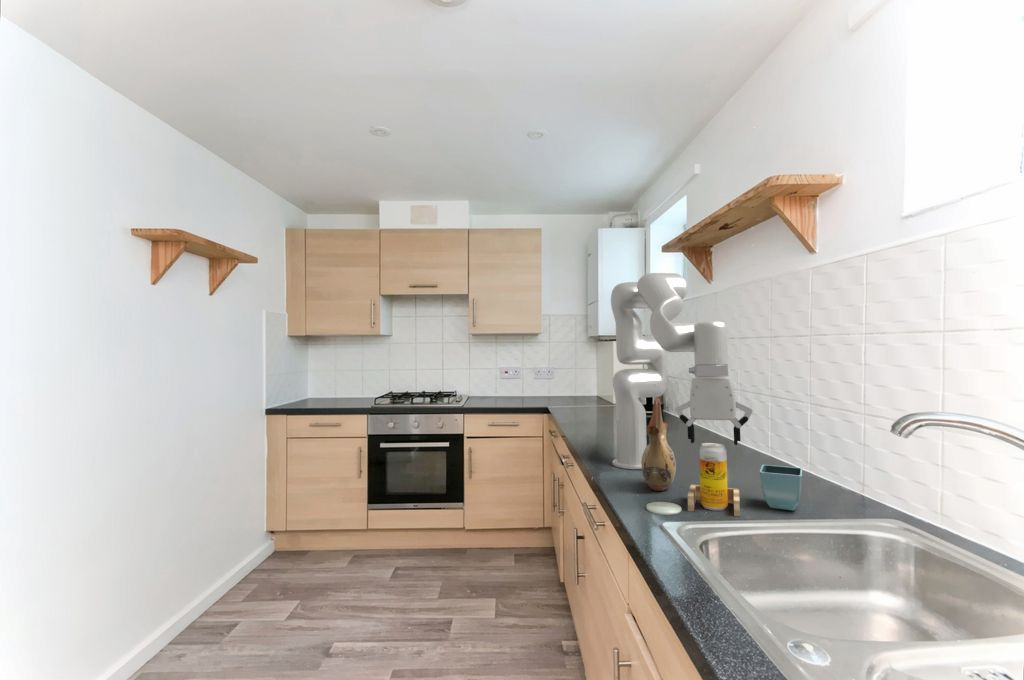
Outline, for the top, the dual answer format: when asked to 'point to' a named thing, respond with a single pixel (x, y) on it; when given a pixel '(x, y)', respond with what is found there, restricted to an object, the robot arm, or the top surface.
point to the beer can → (713, 476)
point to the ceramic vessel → (658, 453)
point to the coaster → (664, 508)
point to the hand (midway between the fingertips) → (713, 443)
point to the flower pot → (781, 486)
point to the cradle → (731, 493)
